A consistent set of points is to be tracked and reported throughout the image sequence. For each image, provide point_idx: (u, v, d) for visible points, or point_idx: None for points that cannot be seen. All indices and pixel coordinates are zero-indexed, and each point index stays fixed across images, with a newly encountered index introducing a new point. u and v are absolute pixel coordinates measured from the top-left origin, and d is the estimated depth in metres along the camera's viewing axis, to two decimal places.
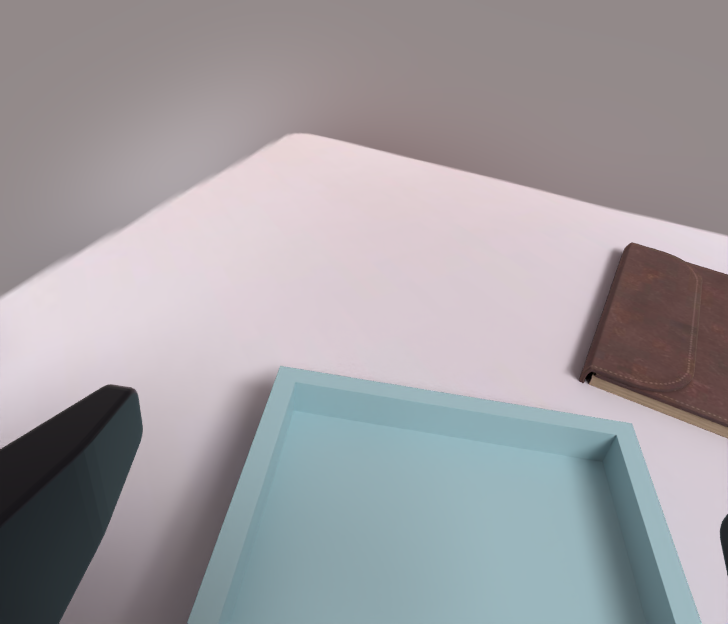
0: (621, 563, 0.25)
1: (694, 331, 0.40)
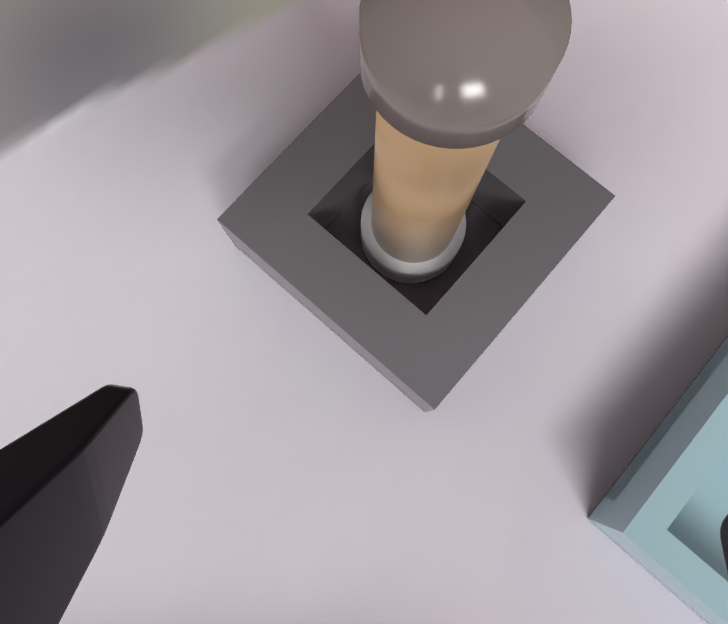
0: None
1: None
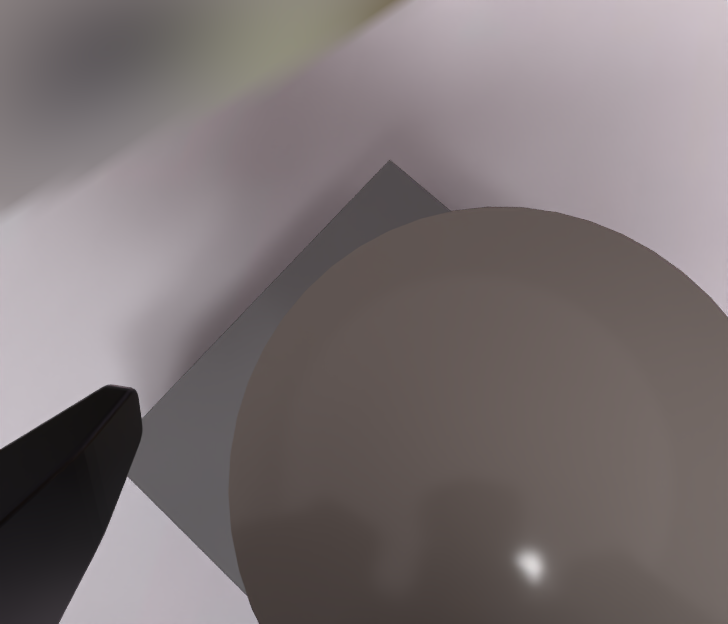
0: None
1: None
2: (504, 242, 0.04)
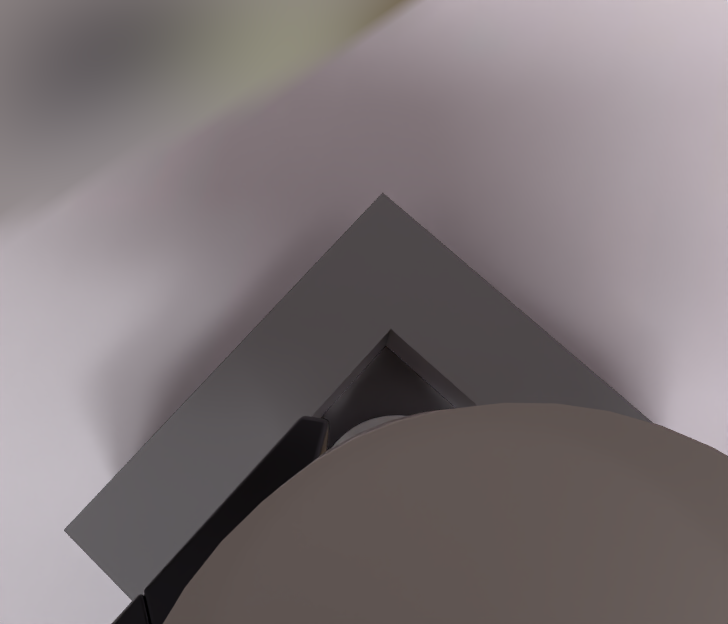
0: None
1: None
2: (530, 459, 0.03)
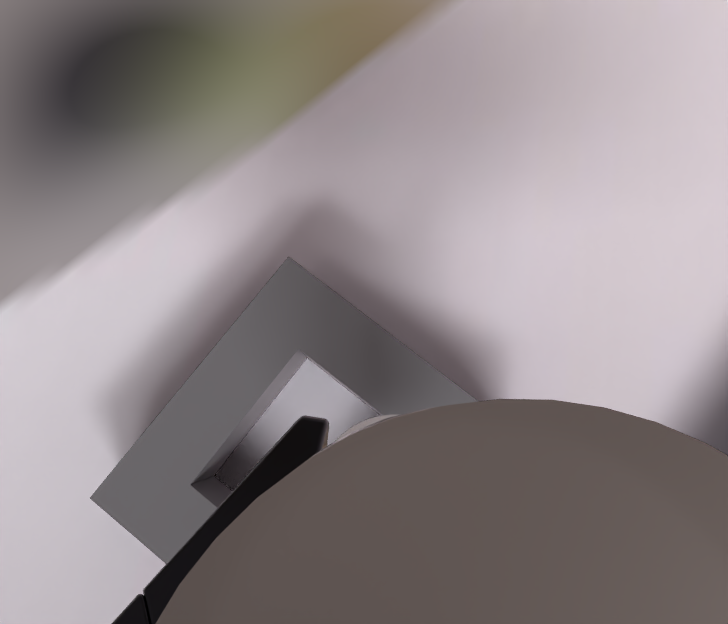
0: None
1: None
2: (525, 455, 0.03)
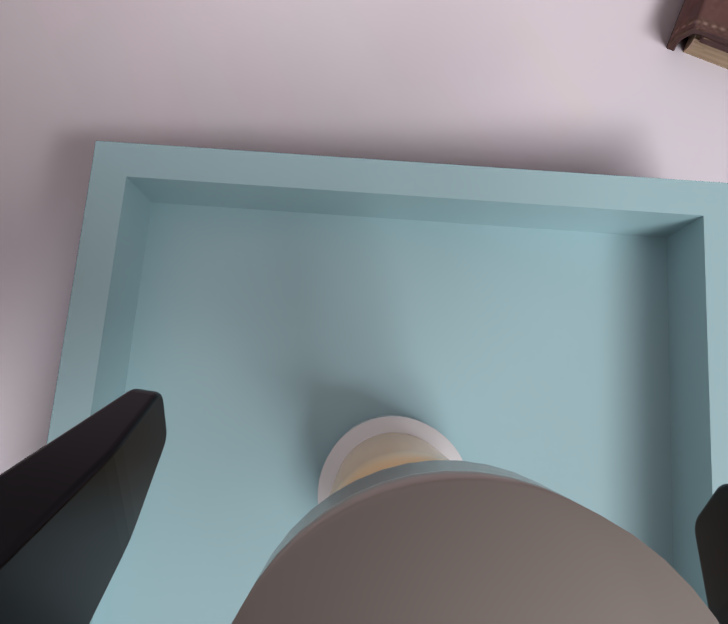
0: (656, 425, 0.17)
1: None
2: (475, 523, 0.04)
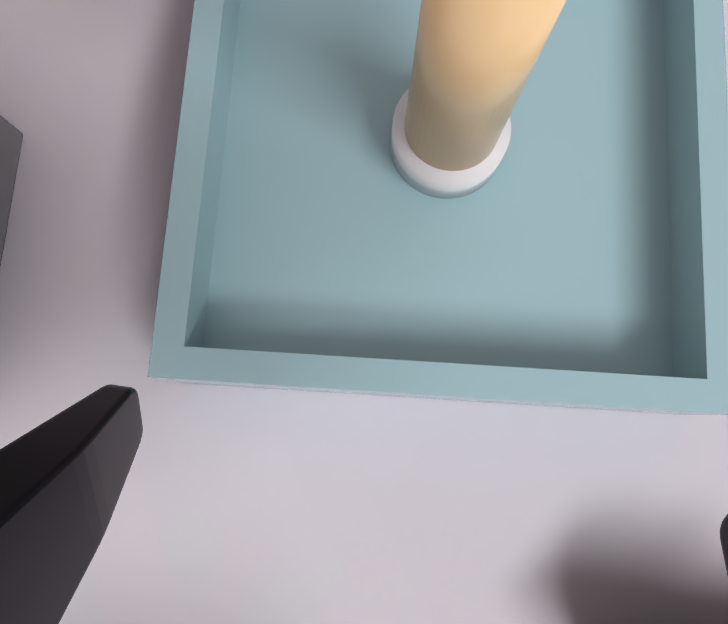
0: (655, 101, 0.22)
1: None
2: None
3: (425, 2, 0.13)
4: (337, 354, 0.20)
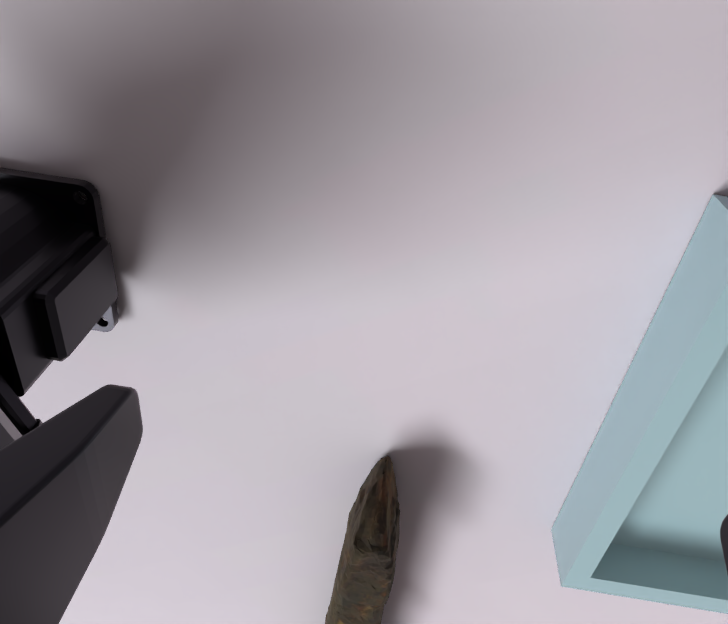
0: None
1: None
2: None
3: None
4: None
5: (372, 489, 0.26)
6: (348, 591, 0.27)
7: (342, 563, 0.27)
